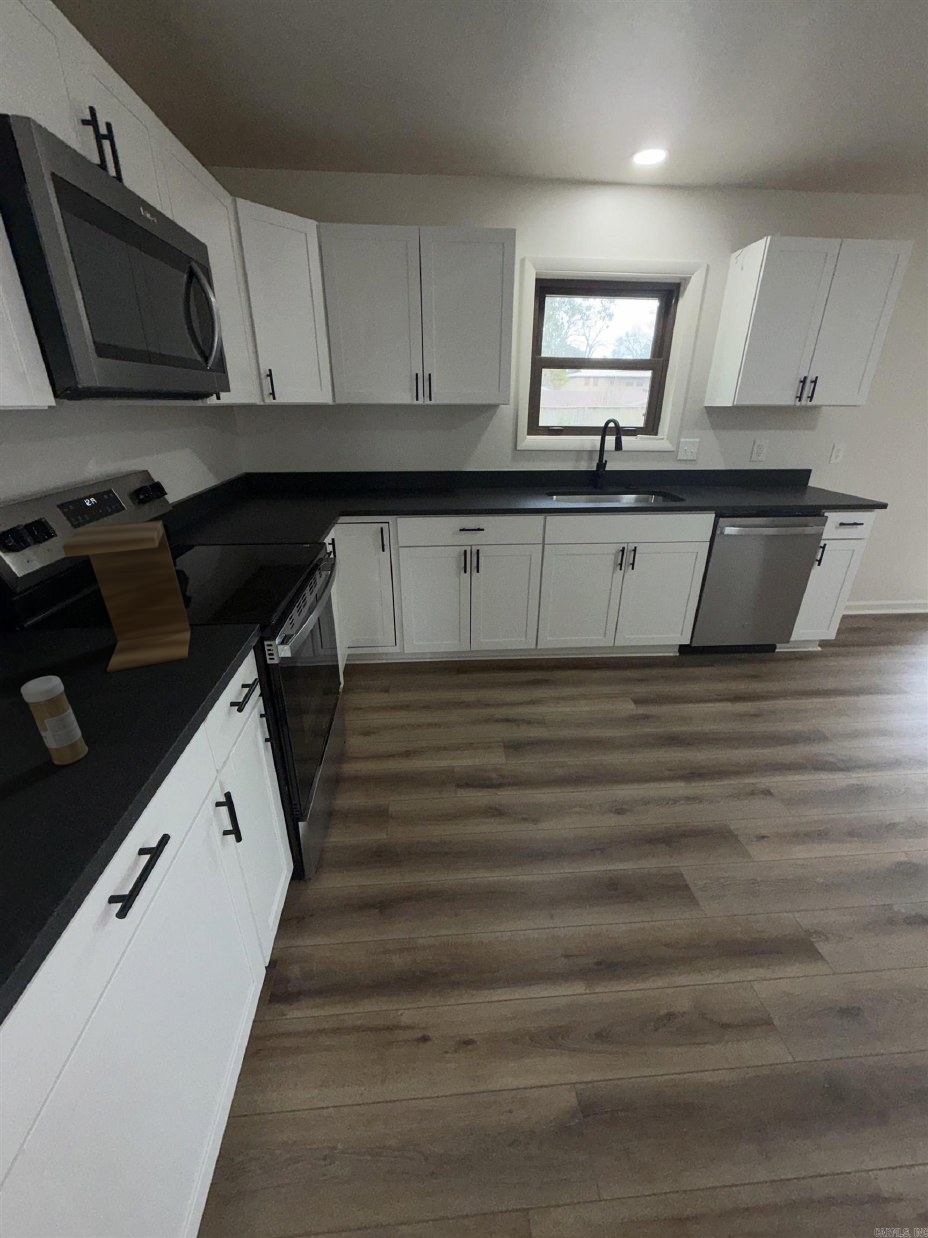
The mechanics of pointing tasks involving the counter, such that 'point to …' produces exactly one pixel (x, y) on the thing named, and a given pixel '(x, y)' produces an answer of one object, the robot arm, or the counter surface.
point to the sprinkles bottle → (55, 719)
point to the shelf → (137, 591)
